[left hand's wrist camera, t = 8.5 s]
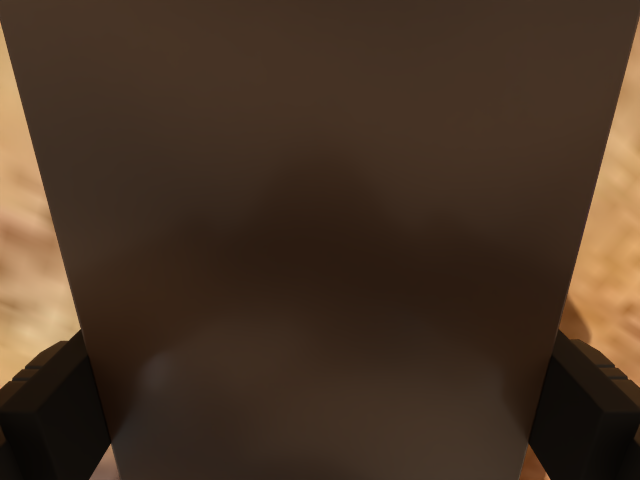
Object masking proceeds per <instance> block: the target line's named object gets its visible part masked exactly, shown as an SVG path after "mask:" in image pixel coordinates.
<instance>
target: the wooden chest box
mask: <svg viewBox="0 0 640 480" xmlns="http://www.w3.org/2000/svg"><path fill="white" fill-rule="evenodd" d="M639 17H640V0H0V22H1V26H2V29H3V33H4V37H5V41H6V45H7V48H8V52H9V56H10V60H11V64H12V68H13V71H14V75H15V79H16V83H17V87H18V90H19V94H20V98H21V102H22V106H23V110H24V113H25V117H26V121H27V125H28V129H29V132H30V136H31V140H32V144H33V148H34V152H35V155H36V159H37V163H38V167H39V171H40V174H41V178H42V182H43V186H44V190H45V194H46V197H47V201H48V205H49V209H50V213H51V216H52V220H53V224H54V228H55V232H56V236H57V239H58V243H59V247H60V251H61V255H62V258H63V262H64V266H65V270H66V274H67V277H68V281H69V285H70V289H71V293H72V297H73V300H74V304H75V308H76V312H77V316H78V319H79V323H80V327H81V331H82V335H83V339H84V342H85V346H86V350H87V354H88V358H89V361H90V365H91V369H92V373H93V377H94V381H95V384H96V388H97V392H98V396H99V400H100V403H101V407H102V411H103V415H104V419H105V423H106V426H107V430H108V434H109V438H110V442H111V445H112V449H113V453H114V457H115V461H116V465H117V468H118V472H119V476H120V480H519V478H520V474H521V470H522V467H523V463H524V459H525V455H526V451H527V447H528V443H529V440H530V436H531V432H532V428H533V424H534V420H535V417H536V413H537V409H538V405H539V401H540V397H541V394H542V390H543V386H544V382H545V378H546V374H547V370H548V367H549V363H550V359H551V355H552V351H553V347H554V344H555V340H556V336H557V332H558V328H559V324H560V321H561V317H562V313H563V309H564V305H565V301H566V297H567V294H568V290H569V286H570V282H571V278H572V274H573V271H574V267H575V263H576V259H577V255H578V251H579V247H580V244H581V240H582V236H583V232H584V228H585V224H586V221H587V217H588V213H589V209H590V205H591V201H592V198H593V194H594V190H595V186H596V182H597V178H598V174H599V171H600V167H601V163H602V159H603V155H604V151H605V148H606V144H607V140H608V136H609V132H610V128H611V125H612V121H613V117H614V113H615V109H616V105H617V101H618V98H619V94H620V90H621V86H622V82H623V78H624V75H625V71H626V67H627V63H628V59H629V55H630V51H631V48H632V44H633V40H634V36H635V32H636V28H637V25H638V21H639Z"/></svg>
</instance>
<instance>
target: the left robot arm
mask: <svg viewBox="0 0 640 480" xmlns="http://www.w3.org/2000/svg"><path fill="white" fill-rule="evenodd" d="M110 444H111V442H110V438H109V434H108V430H107V426H106V423H105V419H104V415H103V411H102V407H101V403H100V400H99V396H98V392H97V388H96V384H95V381H94V377H93V373H92V369H91V365H90V361H89V358H88V354H87V350H86V346H85V342H84V339H83V335H82V331H81V329H80V330H79V331H78V332H77V333H76V334H75V335H74V336H73V337H72V338H71V339H70V340H69V341H60V342H58V343H56V344H54V345H53V346H51V347H49V348H48V349H46V350H44V351H42V352H41V353H39V354H38V355H37V356H36V357H35V358H34V359H33V360H32V361H31V362H30V363H28V364H27V365H26V366H25V369H22V370H21V371H20V372H19V373H18V374H16V375H15V376H14V377H13V378H12V381H9V382H8V383H7V384H6V385H4V386H3V387H2V388H1V389H0V480H89V479H90V477H91V475H92V474H93V472H94V470H95V469H96V467H97V465H98V464H99V462H100V460H101V459H102V457H103V455H104V454H105V452H106V450H107V449H108V447H109V446H110ZM529 445H530V446H531V448H532V449H533V451H534V453H535V454H536V456H537V458H538V459H539V461H540V463H541V464H542V466H543V468H544V469H545V471H546V473H547V474H548V476H549V478H550V479H551V480H640V388H639V387H638V386H637V385H636V384H635V383H634V382H633V381H632V380H628V378H627V376H626V375H625V374H624V373H623V372H622V371H621V370H620V369H619V368H615V365H614V364H613V363H612V362H611V361H610V360H609V359H608V358H606V357H605V356H604V355H603V354H602V353H601V352H600V351H598V350H596V349H595V348H593V347H591V346H590V345H588V344H586V343H584V342H583V341H581V340H569V339H568V338H567V337H566V336H565V335H564V334H563V333H562V332H561V331H560V330H559V329H558V332H557V336H556V340H555V344H554V347H553V351H552V355H551V359H550V363H549V367H548V370H547V374H546V378H545V382H544V386H543V390H542V394H541V397H540V401H539V405H538V409H537V413H536V417H535V420H534V424H533V428H532V432H531V436H530V440H529Z"/></svg>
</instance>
